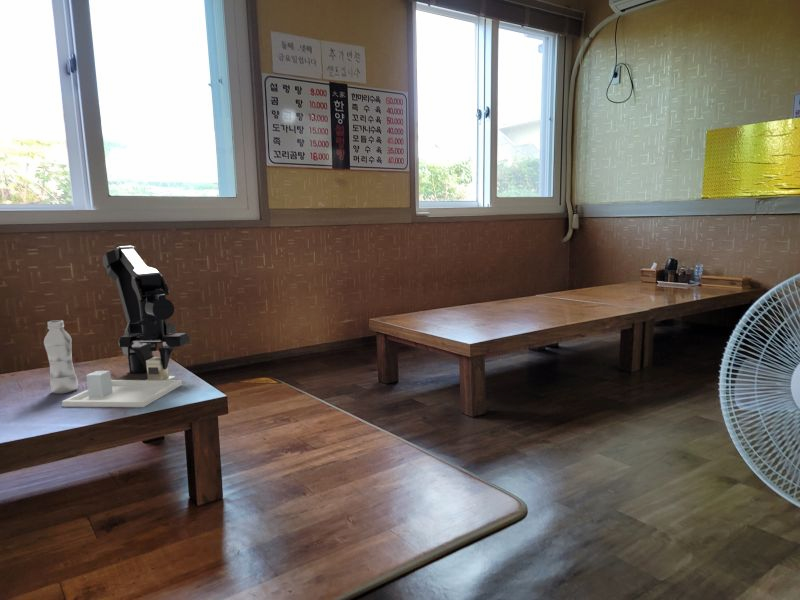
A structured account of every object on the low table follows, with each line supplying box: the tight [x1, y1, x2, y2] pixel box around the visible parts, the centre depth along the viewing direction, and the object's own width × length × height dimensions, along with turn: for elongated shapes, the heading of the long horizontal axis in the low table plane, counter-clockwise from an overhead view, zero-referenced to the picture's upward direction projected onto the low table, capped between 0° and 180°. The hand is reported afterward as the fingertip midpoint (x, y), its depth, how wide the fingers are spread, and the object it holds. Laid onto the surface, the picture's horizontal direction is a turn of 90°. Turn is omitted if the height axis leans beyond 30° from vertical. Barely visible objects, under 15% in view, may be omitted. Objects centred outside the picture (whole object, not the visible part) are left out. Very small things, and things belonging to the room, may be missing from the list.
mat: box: [146, 375, 176, 380], centre depth 159 cm, size 7×6×1 cm
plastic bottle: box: [43, 319, 79, 395], centre depth 150 cm, size 6×7×20 cm
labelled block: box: [146, 356, 170, 380], centre depth 159 cm, size 4×4×6 cm
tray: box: [61, 379, 183, 408], centre depth 145 cm, size 22×18×2 cm
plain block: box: [85, 370, 113, 397], centre depth 146 cm, size 4×4×6 cm
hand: (157, 369), depth 159 cm, fingers open, 5 cm apart
